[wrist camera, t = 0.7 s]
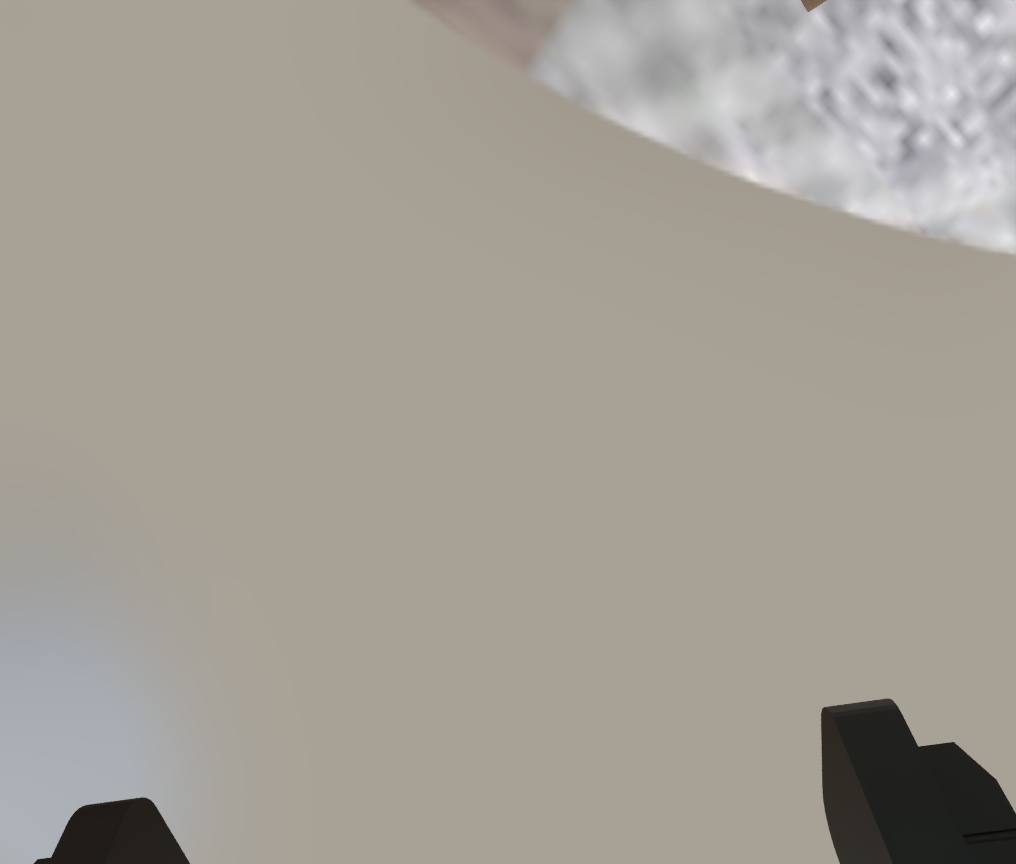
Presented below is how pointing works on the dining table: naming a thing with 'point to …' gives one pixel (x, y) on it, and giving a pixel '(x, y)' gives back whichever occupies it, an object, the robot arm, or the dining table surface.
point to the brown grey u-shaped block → (812, 4)
